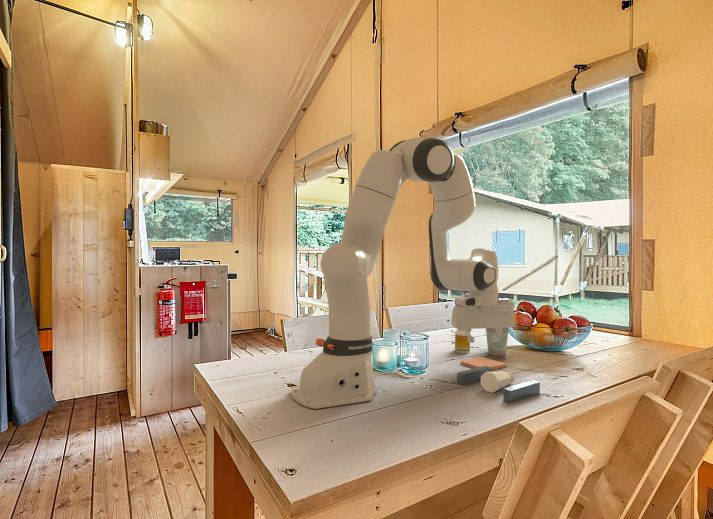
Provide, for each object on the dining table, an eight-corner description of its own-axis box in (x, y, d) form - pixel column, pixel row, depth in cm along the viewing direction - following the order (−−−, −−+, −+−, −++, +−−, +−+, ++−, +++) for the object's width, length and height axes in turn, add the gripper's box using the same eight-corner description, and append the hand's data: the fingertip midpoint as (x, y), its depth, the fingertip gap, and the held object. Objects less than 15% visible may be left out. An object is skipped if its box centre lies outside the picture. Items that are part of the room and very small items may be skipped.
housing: (510, 403, 93) (510, 390, 93) (457, 383, 107) (457, 372, 107) (539, 393, 99) (539, 381, 99) (485, 375, 114) (485, 365, 114)
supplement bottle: (471, 353, 139) (471, 326, 139) (456, 353, 140) (456, 326, 139) (467, 349, 145) (467, 323, 145) (453, 349, 145) (453, 323, 145)
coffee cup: (484, 355, 136) (485, 322, 136) (484, 350, 144) (484, 318, 144) (510, 357, 134) (511, 323, 133) (508, 351, 142) (508, 319, 142)
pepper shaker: (494, 369, 100) (515, 365, 107) (477, 373, 103) (497, 369, 110) (501, 391, 98) (521, 385, 105) (483, 394, 101) (503, 388, 109)
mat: (485, 372, 118) (485, 368, 118) (460, 364, 126) (460, 361, 126) (506, 366, 123) (506, 363, 123) (481, 359, 131) (481, 356, 131)
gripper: (508, 297, 129) (508, 338, 129) (449, 298, 126) (449, 340, 126) (519, 299, 122) (518, 343, 123) (457, 300, 120) (457, 345, 120)
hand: (483, 341), depth 124 cm, fingers open, 7 cm apart
